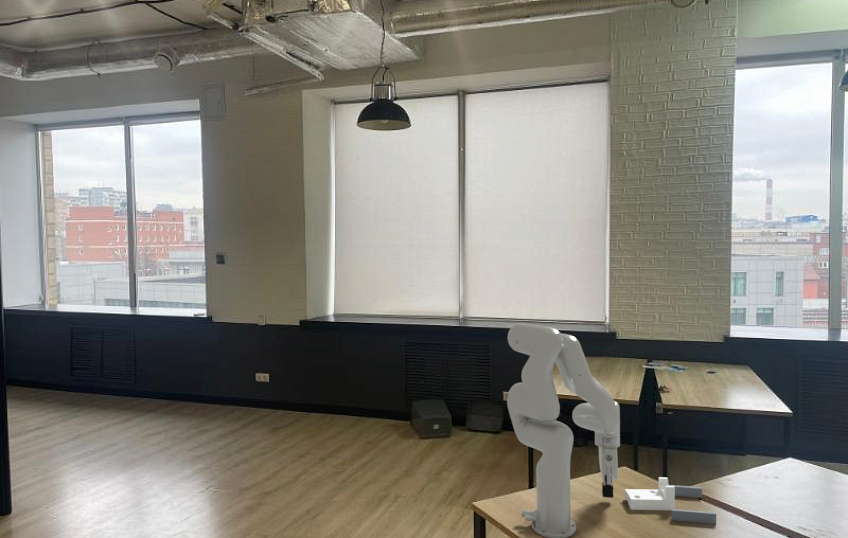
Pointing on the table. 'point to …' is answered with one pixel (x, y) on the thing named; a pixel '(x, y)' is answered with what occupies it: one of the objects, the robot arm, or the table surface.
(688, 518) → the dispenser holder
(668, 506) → the bracket
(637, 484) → the table surface
